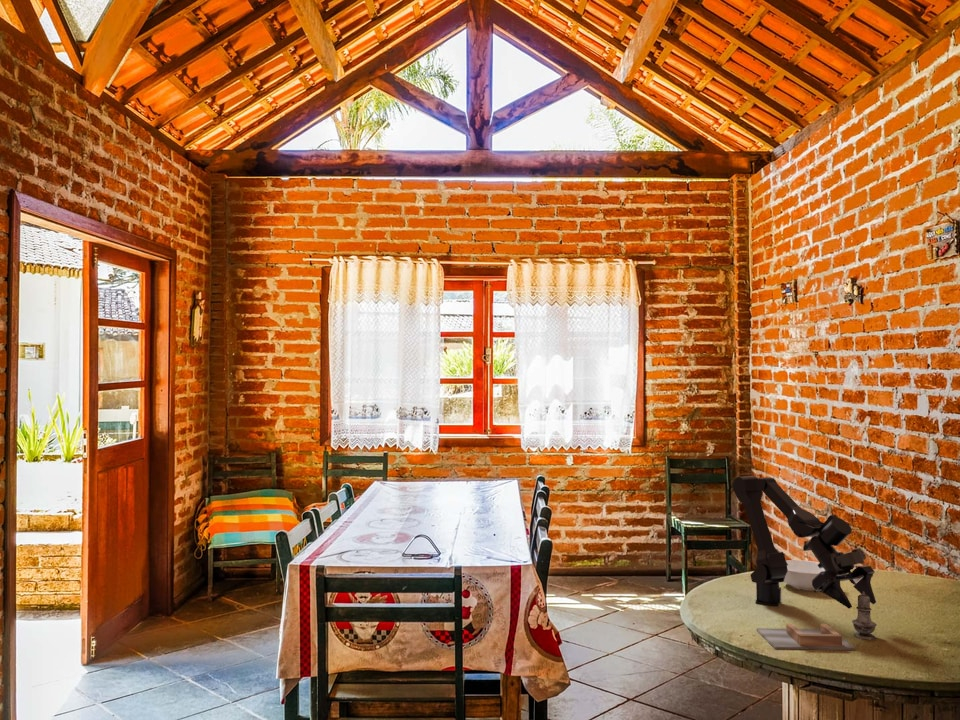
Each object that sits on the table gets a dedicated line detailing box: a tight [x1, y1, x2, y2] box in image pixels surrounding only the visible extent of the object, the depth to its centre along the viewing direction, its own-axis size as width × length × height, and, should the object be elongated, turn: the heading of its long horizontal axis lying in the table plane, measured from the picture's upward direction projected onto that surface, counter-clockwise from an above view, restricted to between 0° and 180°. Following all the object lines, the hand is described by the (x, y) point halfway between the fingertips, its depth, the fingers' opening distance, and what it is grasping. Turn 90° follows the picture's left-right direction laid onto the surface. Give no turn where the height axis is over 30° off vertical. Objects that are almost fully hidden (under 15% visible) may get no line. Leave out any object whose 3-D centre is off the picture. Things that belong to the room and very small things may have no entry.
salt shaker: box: [851, 591, 878, 641], centre depth 197 cm, size 6×6×12 cm
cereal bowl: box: [783, 559, 825, 591], centre depth 244 cm, size 17×17×7 cm
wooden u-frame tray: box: [756, 623, 856, 651], centre depth 194 cm, size 14×20×3 cm
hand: (862, 605), depth 197 cm, fingers open, 9 cm apart
